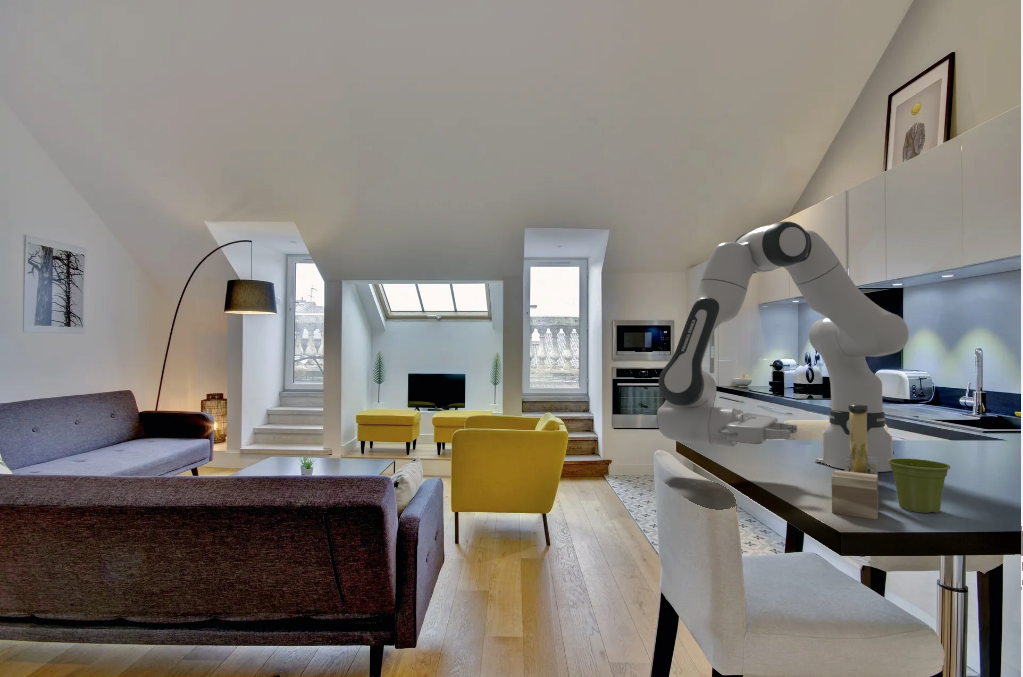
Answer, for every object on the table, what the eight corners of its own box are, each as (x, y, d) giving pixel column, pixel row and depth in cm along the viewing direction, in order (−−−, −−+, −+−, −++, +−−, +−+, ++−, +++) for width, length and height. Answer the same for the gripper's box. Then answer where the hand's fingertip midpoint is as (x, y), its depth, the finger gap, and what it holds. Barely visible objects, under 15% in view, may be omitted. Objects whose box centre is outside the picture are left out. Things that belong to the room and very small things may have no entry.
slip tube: (853, 474, 123) (852, 399, 123) (871, 476, 121) (870, 400, 122) (847, 493, 107) (845, 407, 107) (867, 496, 105) (866, 408, 105)
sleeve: (848, 480, 124) (847, 454, 124) (877, 483, 121) (877, 456, 121) (844, 489, 116) (844, 461, 116) (876, 493, 112) (875, 464, 112)
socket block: (835, 505, 105) (834, 470, 105) (878, 511, 101) (877, 474, 101) (831, 512, 100) (831, 476, 100) (877, 519, 96) (876, 481, 96)
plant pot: (890, 499, 108) (890, 455, 109) (951, 507, 103) (950, 461, 103) (886, 510, 101) (885, 463, 101) (951, 520, 95) (950, 470, 95)
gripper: (714, 418, 118) (785, 423, 109) (737, 409, 134) (800, 412, 126) (714, 447, 117) (785, 454, 109) (737, 434, 134) (800, 440, 126)
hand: (793, 432), depth 118 cm, fingers open, 8 cm apart
